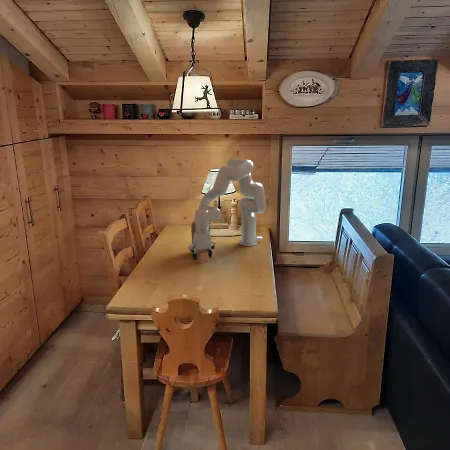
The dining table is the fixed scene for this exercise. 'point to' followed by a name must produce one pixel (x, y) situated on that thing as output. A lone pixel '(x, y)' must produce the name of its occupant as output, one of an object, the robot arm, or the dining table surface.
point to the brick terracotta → (202, 256)
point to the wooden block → (193, 229)
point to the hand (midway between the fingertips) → (202, 258)
